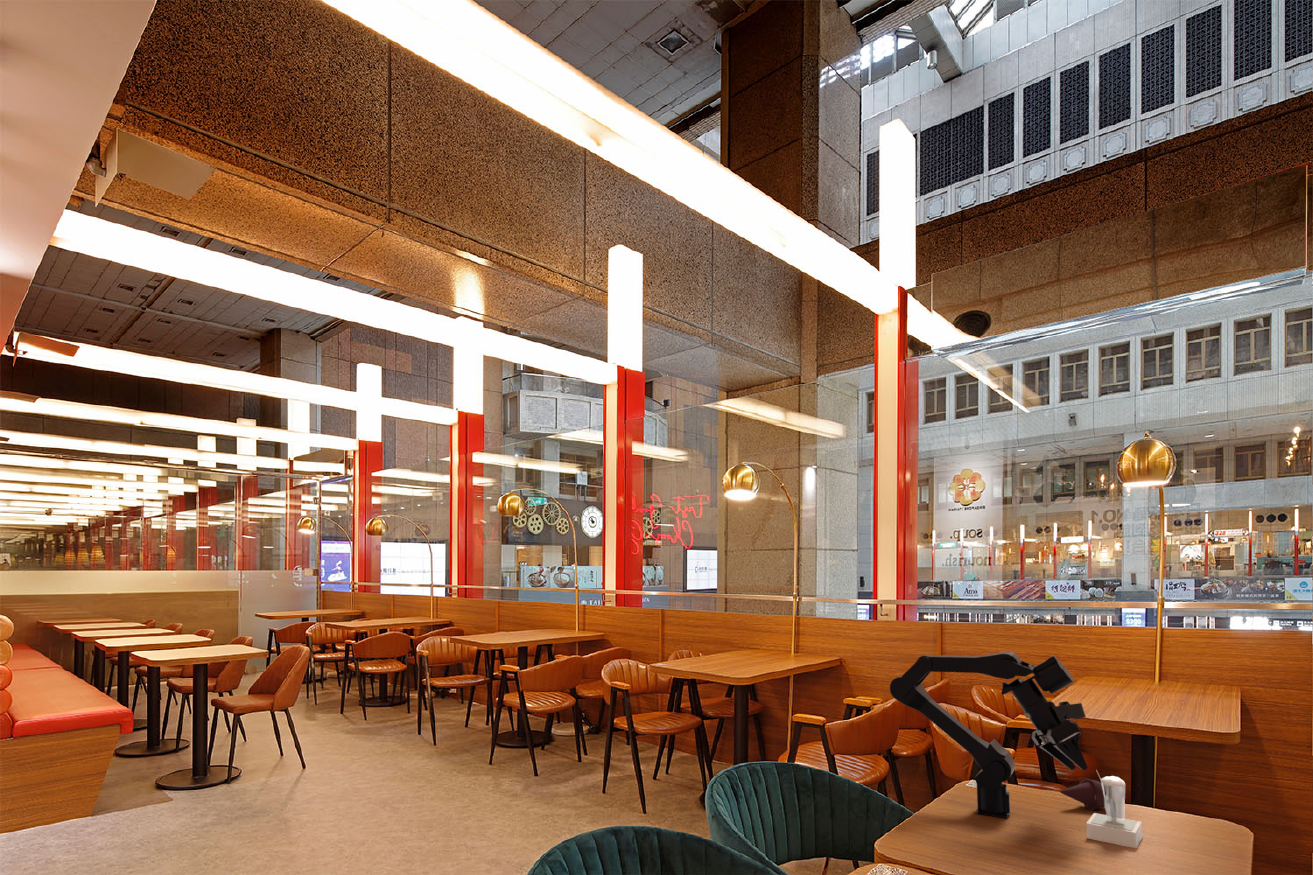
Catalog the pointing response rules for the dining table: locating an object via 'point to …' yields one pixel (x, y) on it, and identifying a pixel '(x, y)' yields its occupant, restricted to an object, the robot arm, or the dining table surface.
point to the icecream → (1087, 793)
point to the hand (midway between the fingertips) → (1079, 769)
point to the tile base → (1114, 831)
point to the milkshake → (1114, 798)
